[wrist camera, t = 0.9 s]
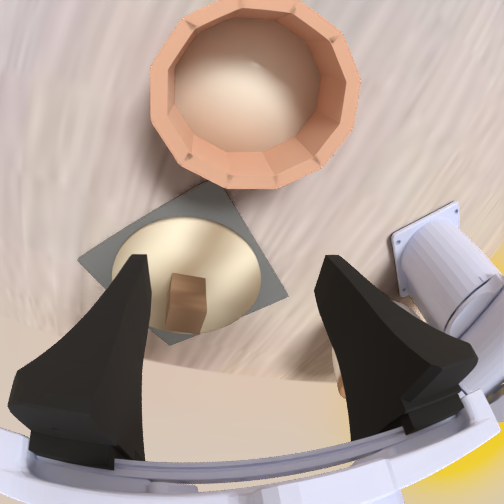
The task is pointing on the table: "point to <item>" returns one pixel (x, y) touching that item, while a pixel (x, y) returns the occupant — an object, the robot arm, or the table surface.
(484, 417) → the robot arm
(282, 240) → the table surface
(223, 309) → the lid
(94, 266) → the mat
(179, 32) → the bowl
